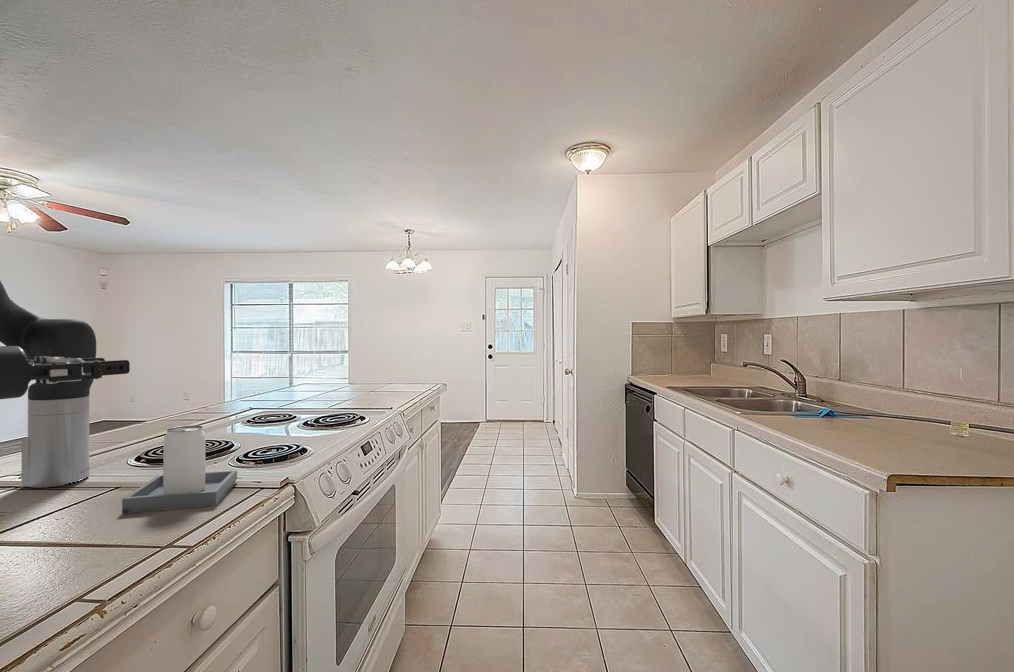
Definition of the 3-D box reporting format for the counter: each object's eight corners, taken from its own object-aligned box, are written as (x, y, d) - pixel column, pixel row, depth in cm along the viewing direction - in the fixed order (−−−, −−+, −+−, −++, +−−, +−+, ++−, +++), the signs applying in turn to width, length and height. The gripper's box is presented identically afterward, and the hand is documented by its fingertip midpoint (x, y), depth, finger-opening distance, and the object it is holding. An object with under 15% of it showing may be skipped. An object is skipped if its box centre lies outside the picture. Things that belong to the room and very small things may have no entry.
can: (183, 499, 85) (184, 432, 85) (154, 497, 86) (154, 430, 86) (213, 488, 91) (213, 425, 91) (185, 486, 92) (185, 424, 92)
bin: (122, 513, 80) (122, 498, 80) (157, 488, 94) (157, 475, 94) (215, 505, 84) (216, 491, 84) (237, 482, 98) (237, 470, 98)
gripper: (-9, 348, 62) (137, 343, 76) (-44, 345, 68) (95, 341, 83) (-7, 406, 62) (138, 390, 76) (-43, 397, 69) (96, 384, 83)
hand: (115, 365), depth 79 cm, fingers open, 8 cm apart
